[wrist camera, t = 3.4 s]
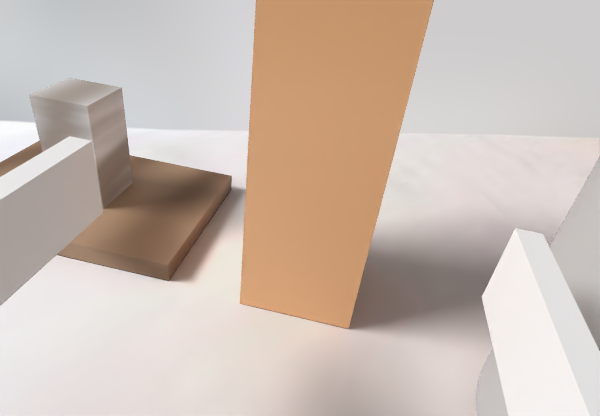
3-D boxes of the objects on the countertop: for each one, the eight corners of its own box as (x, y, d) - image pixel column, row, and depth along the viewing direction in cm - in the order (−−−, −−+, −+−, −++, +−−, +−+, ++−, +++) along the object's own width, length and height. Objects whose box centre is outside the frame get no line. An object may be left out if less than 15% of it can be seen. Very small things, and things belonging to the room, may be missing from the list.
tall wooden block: (268, 239, 29) (297, -75, 19) (358, 258, 29) (435, -56, 19) (240, 303, 24) (260, -80, 14) (348, 328, 24) (447, -54, 14)
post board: (231, 189, 34) (234, 87, 30) (168, 280, 25) (159, 153, 21) (47, 151, 36) (23, 49, 31) (-75, 224, 27) (-132, 95, 22)
